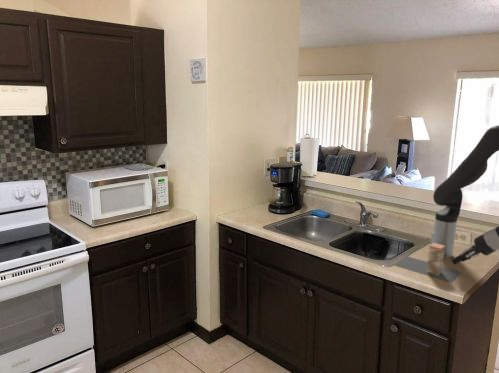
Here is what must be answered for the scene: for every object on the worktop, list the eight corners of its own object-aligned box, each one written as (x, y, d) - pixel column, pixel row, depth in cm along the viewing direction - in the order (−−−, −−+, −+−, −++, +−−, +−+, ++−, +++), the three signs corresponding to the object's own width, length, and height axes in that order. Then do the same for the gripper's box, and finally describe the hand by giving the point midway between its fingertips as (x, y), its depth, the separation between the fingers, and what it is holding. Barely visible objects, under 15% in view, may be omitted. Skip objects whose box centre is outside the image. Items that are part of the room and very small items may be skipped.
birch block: (426, 272, 175) (429, 245, 172) (430, 269, 178) (433, 242, 176) (437, 275, 172) (441, 248, 169) (441, 272, 175) (444, 245, 173)
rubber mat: (393, 266, 182) (393, 265, 182) (406, 257, 192) (406, 256, 192) (451, 284, 166) (451, 282, 166) (462, 273, 176) (462, 271, 176)
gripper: (489, 229, 164) (452, 249, 175) (479, 237, 155) (441, 258, 166) (502, 245, 162) (464, 265, 173) (493, 254, 153) (454, 275, 163)
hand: (453, 262), depth 169 cm, fingers closed
